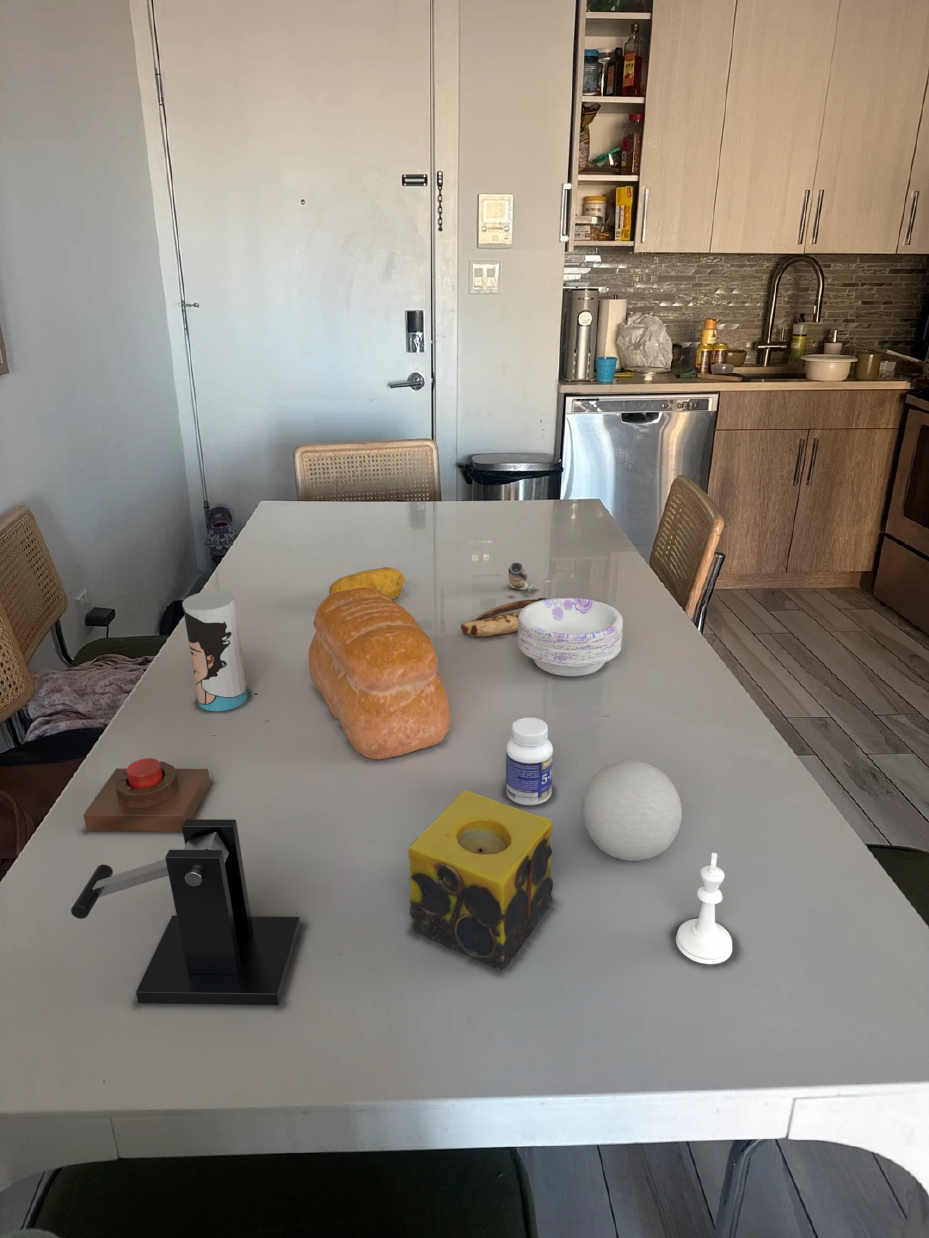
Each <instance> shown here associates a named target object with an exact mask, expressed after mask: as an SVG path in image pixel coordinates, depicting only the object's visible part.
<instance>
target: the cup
mask: <svg viewBox="0 0 929 1238" xmlns="http://www.w3.org/2000/svg"><path fill="white" fill-rule="evenodd" d="M182 609H183V617H184V622H185V627H186V628H185V629H186V634H187V641H188V647H189V652H190V660H191V665H192V671H193V678H194V683H195V684H194V685H195V690H196V696H197V701H198V702H197V703H198V706H199V707H200V708H201V709H203V710H206V711H211V712H225V711H229V710H233V709H236V708H238V707H239V706H242V705H243V704H245V702H247V700H248V698H249V695H248V690H247V688H248V687H247V681H246V673H245V666H244V658H243V650H242V645H241V644H242V643H241V635H240V629H239V622H238V613H237V607H236V600H235V595H234V594H233V593H231V592H228V591H223V590H209V591H202V592H198V593H194V594H192V595H189V596H188V597H186V598H185V599H184V600H183V601H182Z"/></svg>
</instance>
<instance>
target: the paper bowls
mask: <svg viewBox="0 0 929 1238" xmlns="http://www.w3.org/2000/svg"><path fill="white" fill-rule="evenodd" d="M518 613H519V617H518V621H519V624H518V631H517V646H518V648H519V650H520V651H521V652H522V653H523V654H524V655H525V656H527V657H529V658H530V659H532V660H533V662H534V663H535V665H536V666H537V667H538V668H540V669H541V670H543V671H544V672H546V673H549V674H551V675H556V676H560V677H571V678H572V677H584V676H587V675H592V674H594V673H595V672H597V671H599V670H600V669H601V668H603V666H604V665H605V663H606V662H609V661H612V660H613V659H614V658H616V657H617V656H618V655H619V654H620V652H621V650H622V641H623V628H624V620H623V619H624V618H623V616H622V614H621V613H620V611H618V609H616V608H615V607H613V606H611V605H609V604H606V603H604V602H601V601H597V600H593V599H589V598H588V599H587V598H581V597H552V598H547V599H546V600H541V601H537V602H534V603H531V604H529V605H527V606H526V607H524V608H522V609H520V611H519V612H518Z"/></svg>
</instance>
